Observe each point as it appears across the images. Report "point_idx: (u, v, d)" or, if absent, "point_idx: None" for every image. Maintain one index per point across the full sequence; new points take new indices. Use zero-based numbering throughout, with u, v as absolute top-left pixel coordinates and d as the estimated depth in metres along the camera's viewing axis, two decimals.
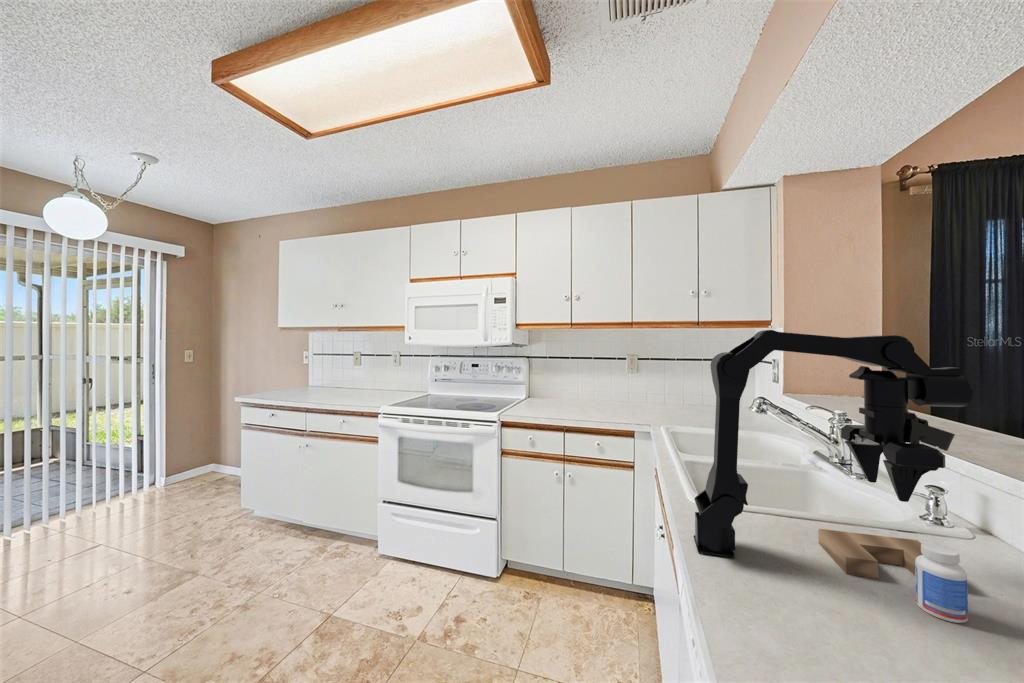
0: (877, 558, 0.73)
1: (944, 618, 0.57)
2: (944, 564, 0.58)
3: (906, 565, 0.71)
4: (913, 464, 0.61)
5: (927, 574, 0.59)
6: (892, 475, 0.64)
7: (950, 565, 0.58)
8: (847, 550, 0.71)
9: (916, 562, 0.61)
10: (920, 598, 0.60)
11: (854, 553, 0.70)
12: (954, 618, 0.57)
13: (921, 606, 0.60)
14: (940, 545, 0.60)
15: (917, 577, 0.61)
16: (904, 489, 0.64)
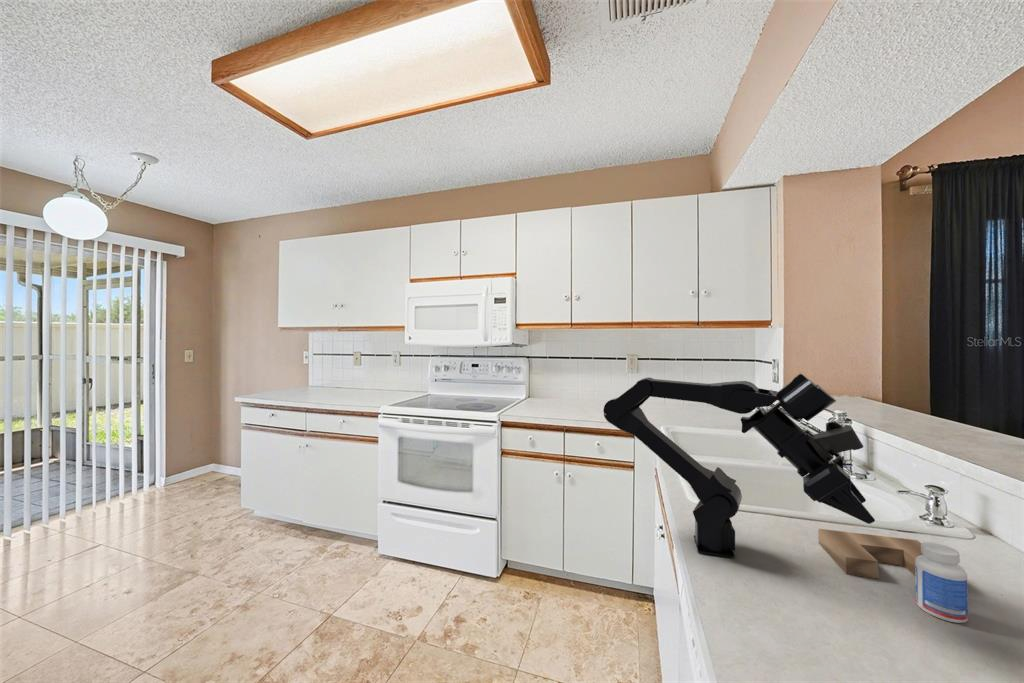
0: (877, 558, 0.73)
1: (944, 618, 0.57)
2: (944, 564, 0.58)
3: (906, 565, 0.71)
4: (823, 494, 0.61)
5: (927, 574, 0.59)
6: (833, 507, 0.62)
7: (950, 565, 0.58)
8: (847, 550, 0.71)
9: (916, 562, 0.61)
10: (920, 598, 0.60)
11: (854, 553, 0.70)
12: (954, 618, 0.57)
13: (921, 606, 0.60)
14: (940, 545, 0.60)
15: (917, 577, 0.61)
16: (857, 512, 0.61)
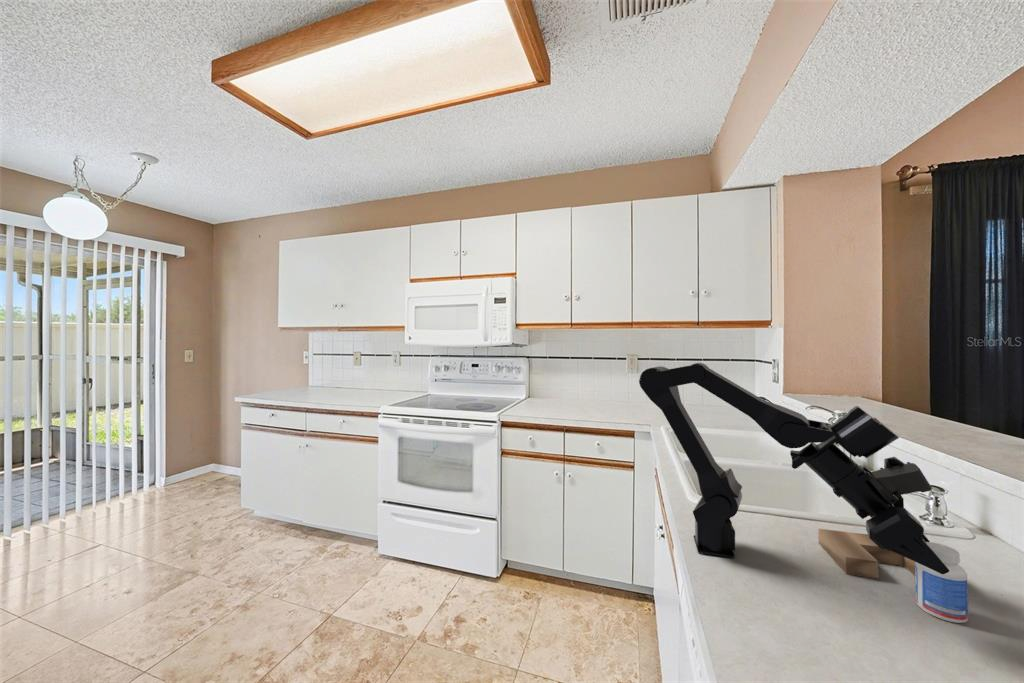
0: (877, 558, 0.73)
1: (944, 618, 0.57)
2: None
3: (906, 565, 0.71)
4: (893, 542, 0.56)
5: (927, 574, 0.59)
6: None
7: (950, 566, 0.58)
8: (847, 550, 0.71)
9: (916, 562, 0.61)
10: (920, 598, 0.60)
11: (854, 553, 0.70)
12: (954, 618, 0.57)
13: (921, 606, 0.60)
14: (940, 545, 0.60)
15: (917, 577, 0.61)
16: (929, 561, 0.56)
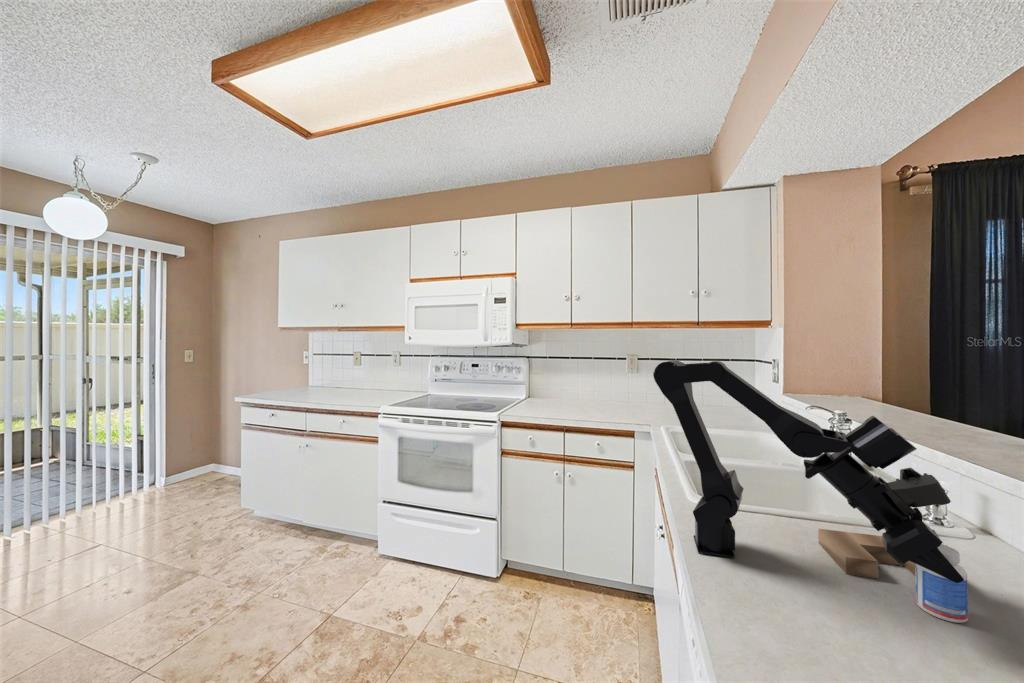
0: (877, 558, 0.73)
1: (944, 618, 0.57)
2: None
3: (906, 565, 0.71)
4: (911, 557, 0.55)
5: (927, 574, 0.59)
6: (916, 563, 0.58)
7: None
8: (847, 550, 0.71)
9: None
10: (920, 598, 0.60)
11: (854, 553, 0.70)
12: (954, 618, 0.57)
13: (921, 606, 0.60)
14: (940, 545, 0.60)
15: (917, 577, 0.61)
16: (944, 570, 0.57)
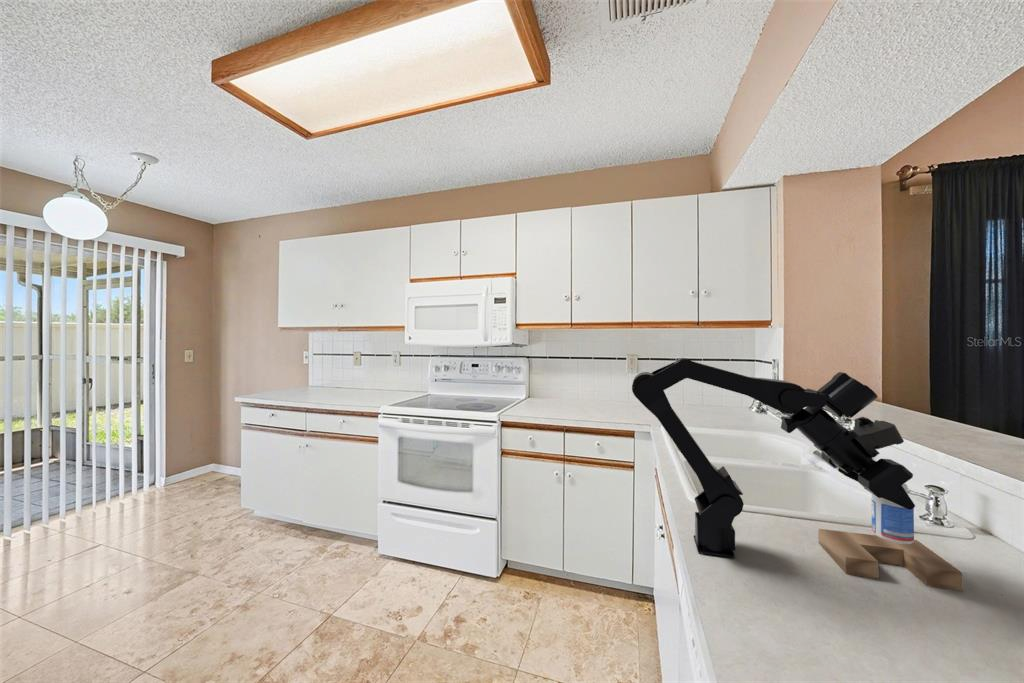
0: (877, 558, 0.73)
1: (900, 542, 0.67)
2: None
3: (906, 565, 0.71)
4: (890, 490, 0.62)
5: (886, 506, 0.68)
6: (882, 497, 0.66)
7: None
8: (847, 550, 0.71)
9: (874, 497, 0.70)
10: (878, 528, 0.69)
11: (854, 553, 0.70)
12: (907, 540, 0.66)
13: (879, 535, 0.69)
14: None
15: (875, 510, 0.69)
16: (902, 500, 0.66)
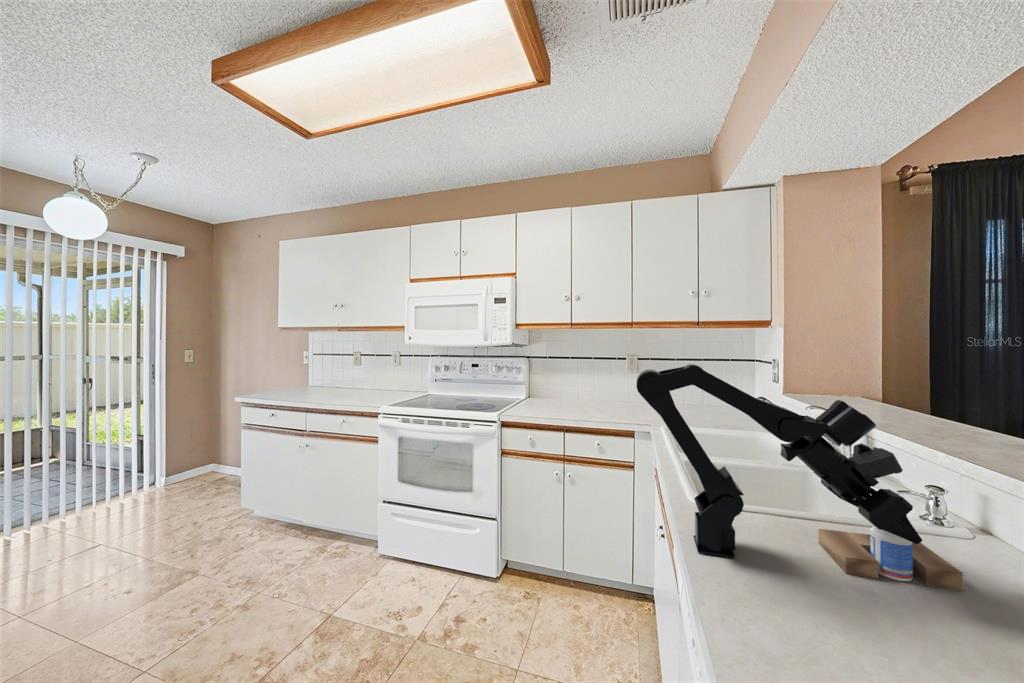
0: None
1: (899, 579, 0.67)
2: None
3: None
4: (890, 522, 0.62)
5: (885, 543, 0.68)
6: None
7: None
8: (847, 550, 0.71)
9: (873, 533, 0.70)
10: (878, 564, 0.69)
11: (854, 553, 0.70)
12: (906, 578, 0.67)
13: (879, 571, 0.69)
14: None
15: (874, 546, 0.70)
16: (908, 534, 0.64)
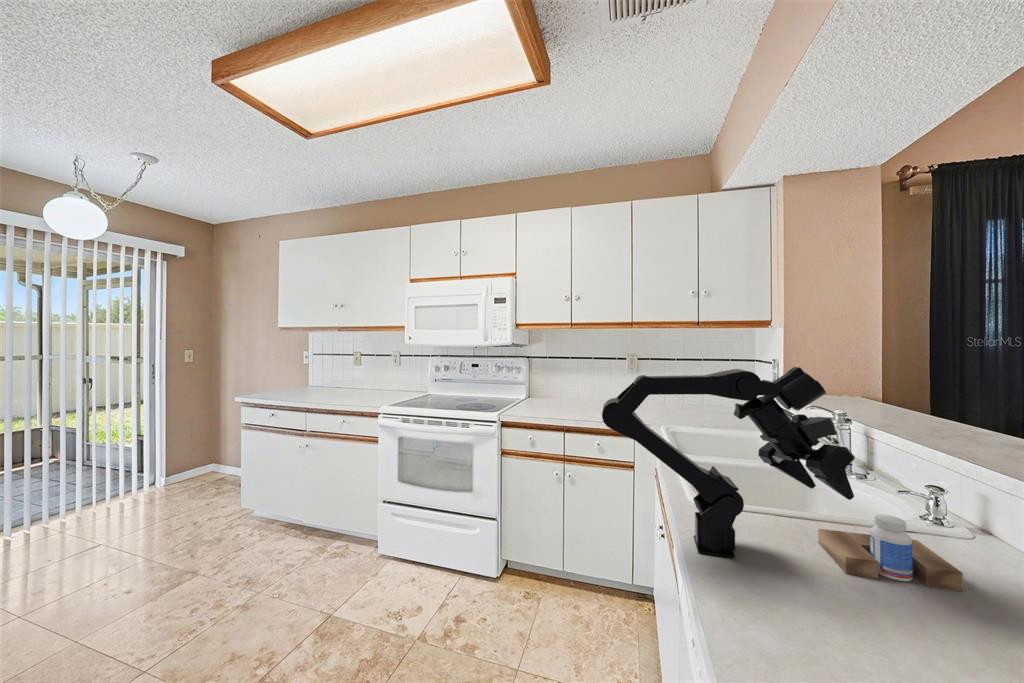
0: None
1: (899, 579, 0.67)
2: (897, 532, 0.68)
3: None
4: (837, 470, 0.65)
5: (885, 543, 0.68)
6: (830, 485, 0.68)
7: (901, 533, 0.68)
8: (847, 550, 0.71)
9: (873, 533, 0.70)
10: (878, 564, 0.69)
11: (854, 553, 0.70)
12: (906, 577, 0.67)
13: (879, 571, 0.69)
14: (887, 516, 0.71)
15: (874, 546, 0.70)
16: (845, 489, 0.68)
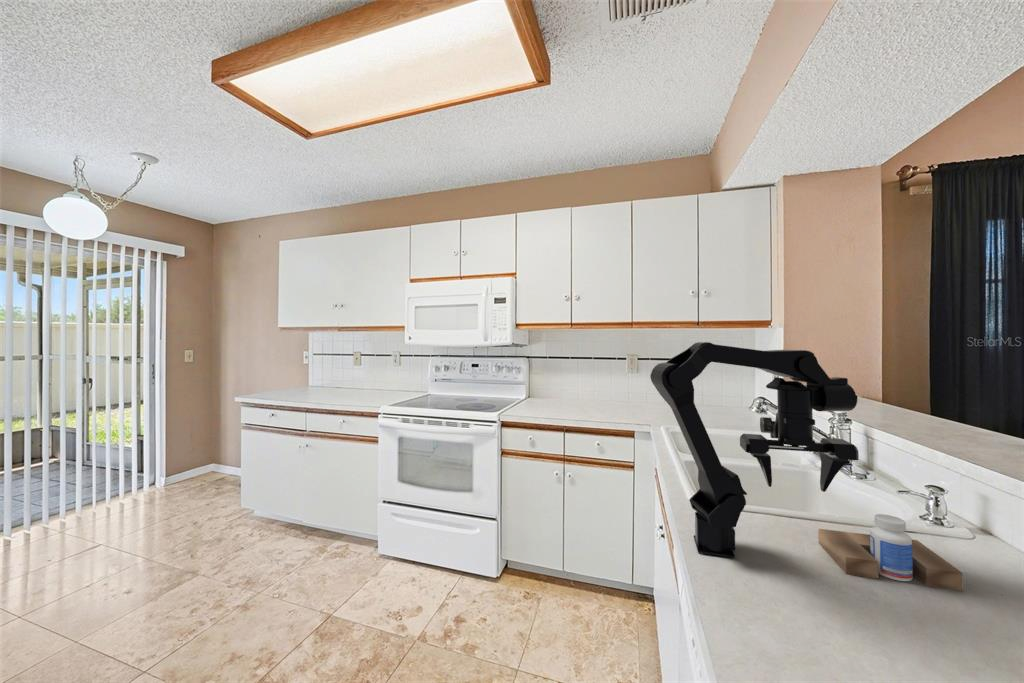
0: None
1: (899, 579, 0.67)
2: (896, 532, 0.68)
3: None
4: None
5: (884, 543, 0.68)
6: (837, 472, 0.74)
7: (901, 533, 0.68)
8: (847, 550, 0.71)
9: (873, 533, 0.70)
10: (878, 564, 0.69)
11: (854, 553, 0.70)
12: (906, 578, 0.67)
13: (879, 571, 0.69)
14: (887, 516, 0.70)
15: (874, 546, 0.70)
16: None
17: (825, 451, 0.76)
